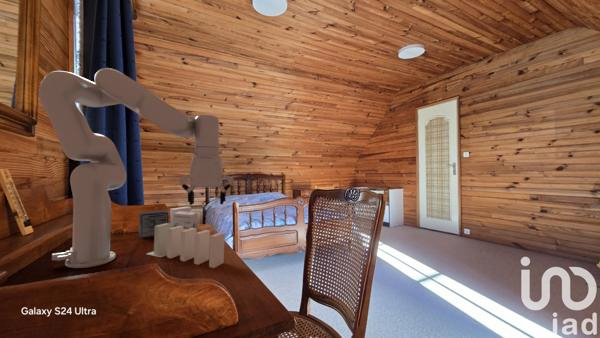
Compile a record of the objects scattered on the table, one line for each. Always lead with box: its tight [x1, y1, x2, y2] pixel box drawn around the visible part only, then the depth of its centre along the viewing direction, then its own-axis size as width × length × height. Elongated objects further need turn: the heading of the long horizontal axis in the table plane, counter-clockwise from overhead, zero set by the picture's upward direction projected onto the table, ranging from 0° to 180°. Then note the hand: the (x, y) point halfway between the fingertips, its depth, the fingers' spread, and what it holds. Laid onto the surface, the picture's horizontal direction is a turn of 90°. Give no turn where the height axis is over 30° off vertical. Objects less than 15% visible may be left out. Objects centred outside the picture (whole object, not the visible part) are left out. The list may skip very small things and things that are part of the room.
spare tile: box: [153, 222, 170, 255], centre depth 93 cm, size 2×5×10 cm, turn 159°
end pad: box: [146, 250, 167, 259], centre depth 93 cm, size 7×7×1 cm
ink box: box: [173, 211, 199, 233], centre depth 108 cm, size 9×5×12 cm, turn 84°
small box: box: [138, 209, 169, 239], centre depth 114 cm, size 11×6×10 cm, turn 130°
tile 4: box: [166, 226, 183, 259], centre depth 91 cm, size 2×5×10 cm, turn 159°
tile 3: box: [179, 228, 196, 262], centre depth 89 cm, size 2×5×10 cm, turn 159°
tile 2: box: [193, 229, 211, 265], centre depth 87 cm, size 2×5×10 cm, turn 159°
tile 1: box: [208, 232, 226, 269], centre depth 84 cm, size 2×5×10 cm, turn 159°
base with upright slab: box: [168, 206, 192, 228], centre depth 118 cm, size 9×9×12 cm
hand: (206, 204), depth 86 cm, fingers open, 9 cm apart
